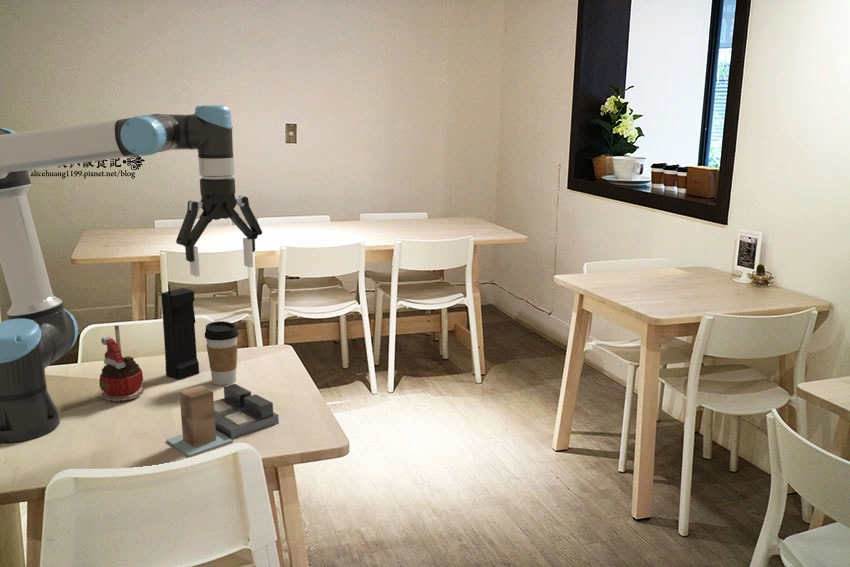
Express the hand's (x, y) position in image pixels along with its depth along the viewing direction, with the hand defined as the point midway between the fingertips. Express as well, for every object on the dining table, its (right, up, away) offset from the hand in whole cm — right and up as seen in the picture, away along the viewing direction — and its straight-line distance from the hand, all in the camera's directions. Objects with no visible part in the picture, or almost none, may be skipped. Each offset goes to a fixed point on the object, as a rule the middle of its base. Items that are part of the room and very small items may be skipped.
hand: (222, 270), depth 174 cm
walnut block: (-2, -36, -11) cm, 38 cm away
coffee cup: (-6, -28, +23) cm, 37 cm away
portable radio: (-18, -27, +28) cm, 43 cm away
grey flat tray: (+3, -34, 0) cm, 34 cm away
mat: (-2, -36, -11) cm, 38 cm away
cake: (-28, -31, +13) cm, 43 cm away
